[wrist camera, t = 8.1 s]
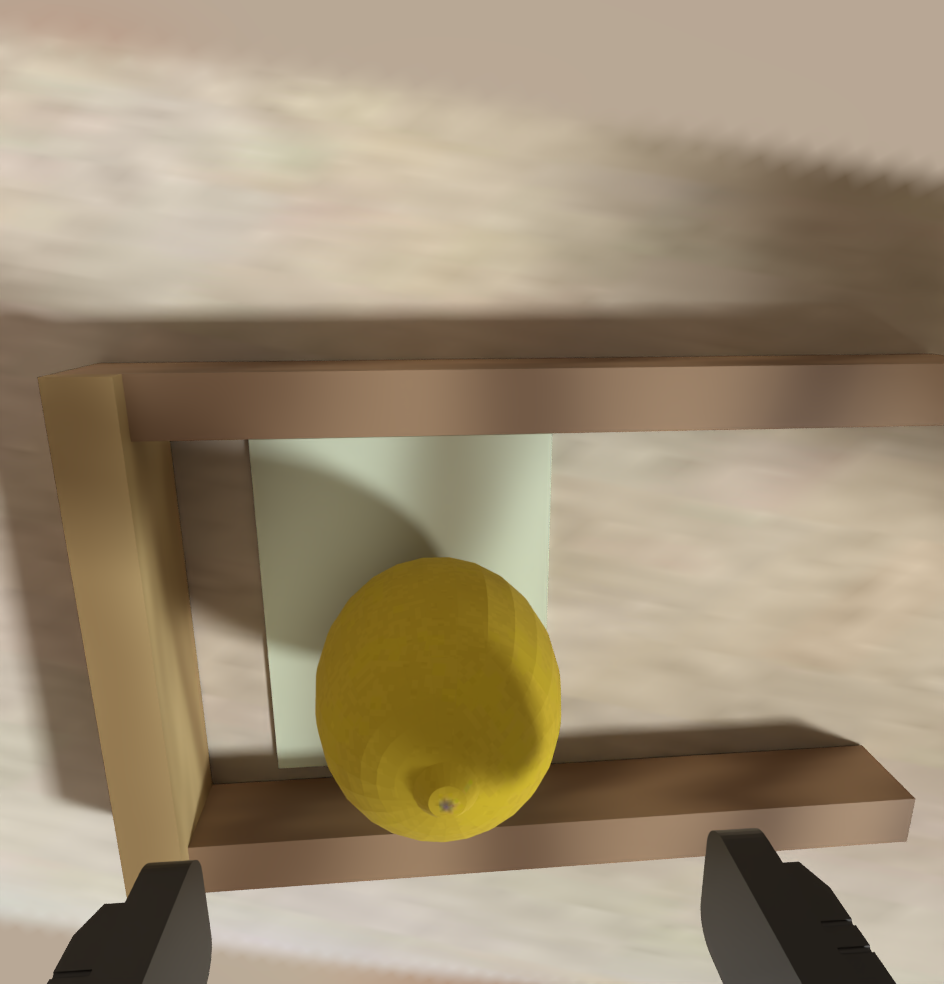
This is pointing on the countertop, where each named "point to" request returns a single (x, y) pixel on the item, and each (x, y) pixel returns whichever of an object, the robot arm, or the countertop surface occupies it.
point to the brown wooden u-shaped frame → (397, 539)
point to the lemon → (438, 699)
